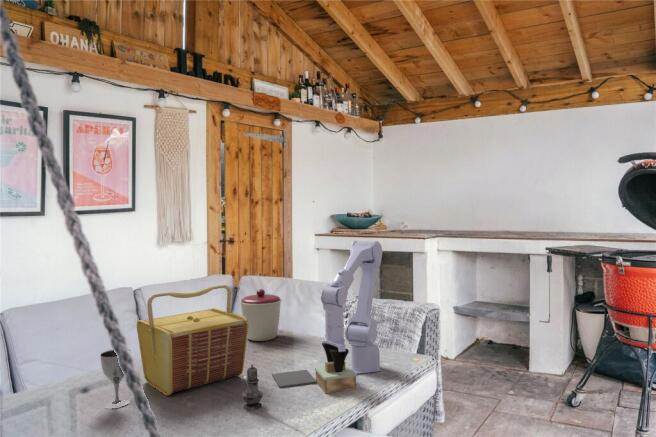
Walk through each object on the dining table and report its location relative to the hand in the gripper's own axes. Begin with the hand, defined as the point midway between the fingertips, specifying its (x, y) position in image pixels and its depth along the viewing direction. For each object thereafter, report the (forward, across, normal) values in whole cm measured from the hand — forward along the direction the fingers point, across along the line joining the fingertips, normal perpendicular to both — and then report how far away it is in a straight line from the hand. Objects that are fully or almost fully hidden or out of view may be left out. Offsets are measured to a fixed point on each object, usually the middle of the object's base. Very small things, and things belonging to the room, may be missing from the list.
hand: (335, 368), depth 156 cm
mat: (+5, -10, -11) cm, 16 cm away
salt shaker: (+6, +7, -27) cm, 28 cm away
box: (+5, 0, 0) cm, 5 cm away
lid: (+1, 0, 0) cm, 1 cm away
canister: (+6, -64, -12) cm, 65 cm away
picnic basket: (+6, -21, -42) cm, 47 cm away
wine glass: (+6, -8, -64) cm, 65 cm away
